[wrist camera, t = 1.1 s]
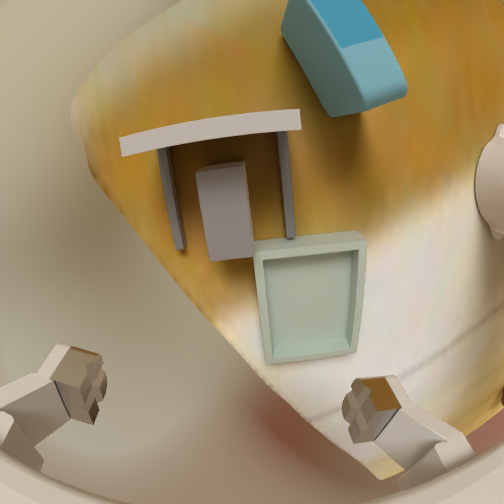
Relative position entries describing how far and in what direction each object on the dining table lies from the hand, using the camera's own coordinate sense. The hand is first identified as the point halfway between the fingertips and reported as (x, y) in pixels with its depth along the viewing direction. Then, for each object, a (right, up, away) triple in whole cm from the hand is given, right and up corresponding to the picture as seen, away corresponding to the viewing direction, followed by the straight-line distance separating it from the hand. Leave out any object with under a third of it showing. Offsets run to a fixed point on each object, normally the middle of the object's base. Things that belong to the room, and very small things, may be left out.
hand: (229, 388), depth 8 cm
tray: (+8, -2, +29) cm, 30 cm away
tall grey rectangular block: (-2, +10, +24) cm, 26 cm away
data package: (+8, +25, +18) cm, 32 cm away
